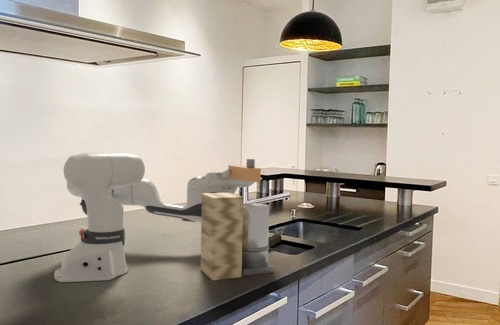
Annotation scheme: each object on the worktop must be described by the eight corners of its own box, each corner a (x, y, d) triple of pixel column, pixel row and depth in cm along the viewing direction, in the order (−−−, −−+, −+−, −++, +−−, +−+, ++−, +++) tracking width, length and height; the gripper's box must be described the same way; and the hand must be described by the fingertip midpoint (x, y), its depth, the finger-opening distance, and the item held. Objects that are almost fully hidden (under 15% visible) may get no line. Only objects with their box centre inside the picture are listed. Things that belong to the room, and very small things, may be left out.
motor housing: (242, 275, 142) (244, 208, 141) (230, 266, 152) (231, 203, 151) (274, 272, 147) (275, 207, 145) (259, 263, 157) (261, 202, 156)
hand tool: (273, 241, 192) (273, 231, 192) (281, 242, 190) (281, 232, 190) (255, 251, 175) (256, 240, 175) (265, 252, 173) (265, 241, 173)
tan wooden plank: (248, 181, 148) (248, 159, 148) (228, 177, 165) (228, 157, 165) (260, 181, 150) (260, 159, 149) (239, 177, 167) (239, 157, 167)
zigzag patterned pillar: (212, 280, 137) (213, 198, 136) (200, 269, 148) (201, 193, 146) (241, 277, 141) (243, 197, 140) (228, 266, 152) (229, 192, 151)
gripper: (250, 192, 177) (264, 177, 166) (202, 193, 169) (213, 178, 157) (248, 178, 180) (260, 163, 168) (200, 179, 171) (210, 163, 160)
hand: (237, 170), depth 163 cm, fingers closed on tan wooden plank, 4 cm apart
